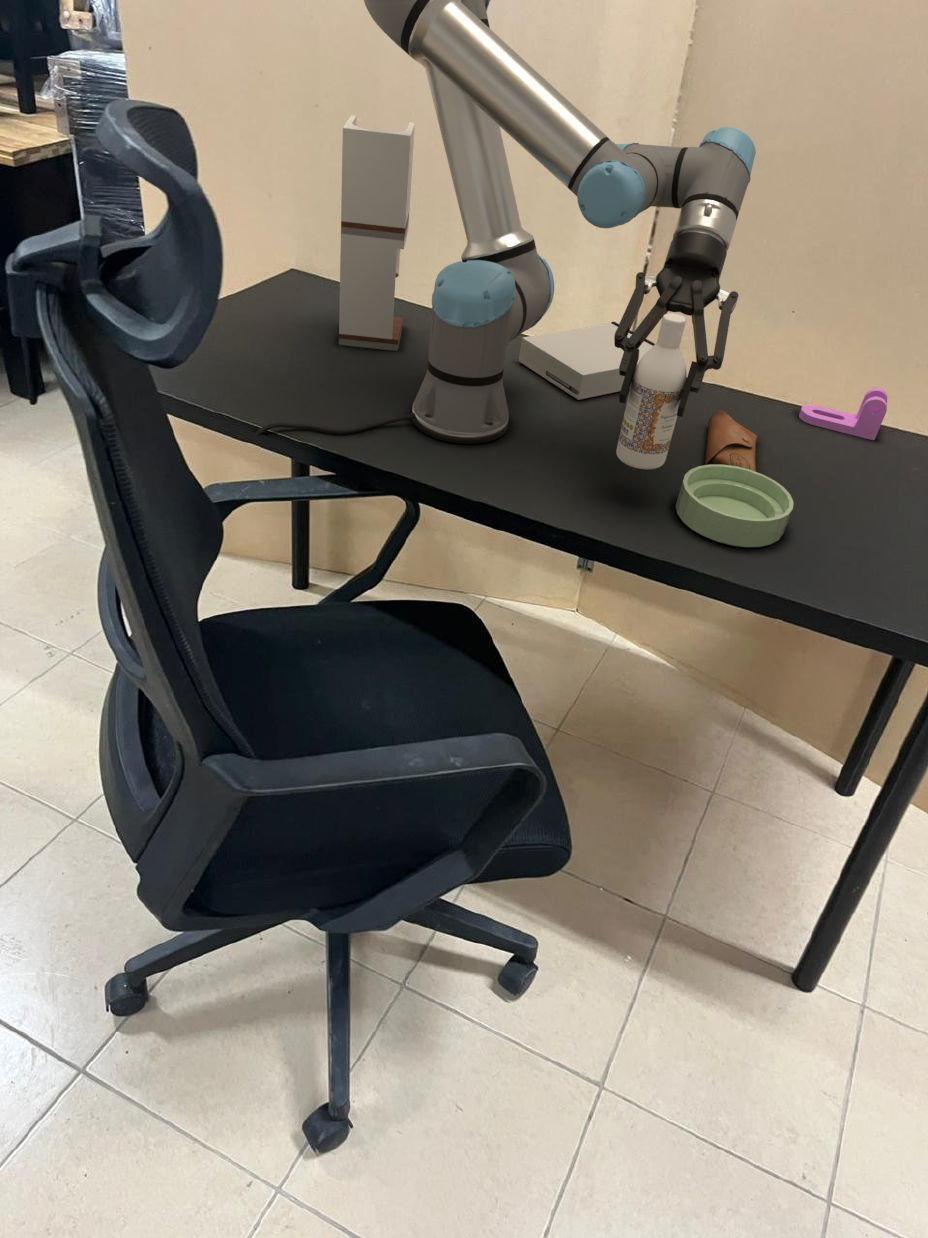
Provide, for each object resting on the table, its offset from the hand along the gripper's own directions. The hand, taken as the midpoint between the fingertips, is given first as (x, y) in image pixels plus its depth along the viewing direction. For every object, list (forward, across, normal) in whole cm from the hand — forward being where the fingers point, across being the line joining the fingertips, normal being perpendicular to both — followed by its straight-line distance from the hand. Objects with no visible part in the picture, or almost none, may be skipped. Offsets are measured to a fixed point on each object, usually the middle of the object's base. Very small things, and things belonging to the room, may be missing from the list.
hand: (651, 405), depth 117 cm
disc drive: (-21, -15, +44) cm, 51 cm away
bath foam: (+4, 0, +9) cm, 10 cm away
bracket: (-22, +28, +45) cm, 58 cm away
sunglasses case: (-6, +12, +29) cm, 32 cm away
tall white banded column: (-16, -56, +38) cm, 70 cm away
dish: (+8, +14, +14) cm, 22 cm away
